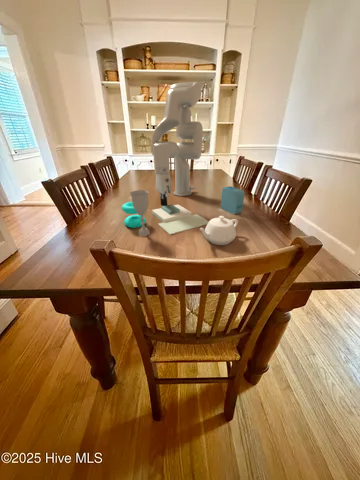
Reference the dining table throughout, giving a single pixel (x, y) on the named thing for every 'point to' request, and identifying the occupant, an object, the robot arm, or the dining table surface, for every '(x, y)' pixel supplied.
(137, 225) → the donuts
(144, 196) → the chalice
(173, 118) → the robot arm
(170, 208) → the tile
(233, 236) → the teapot
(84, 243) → the dining table surface
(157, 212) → the block
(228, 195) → the data package
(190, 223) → the mat
